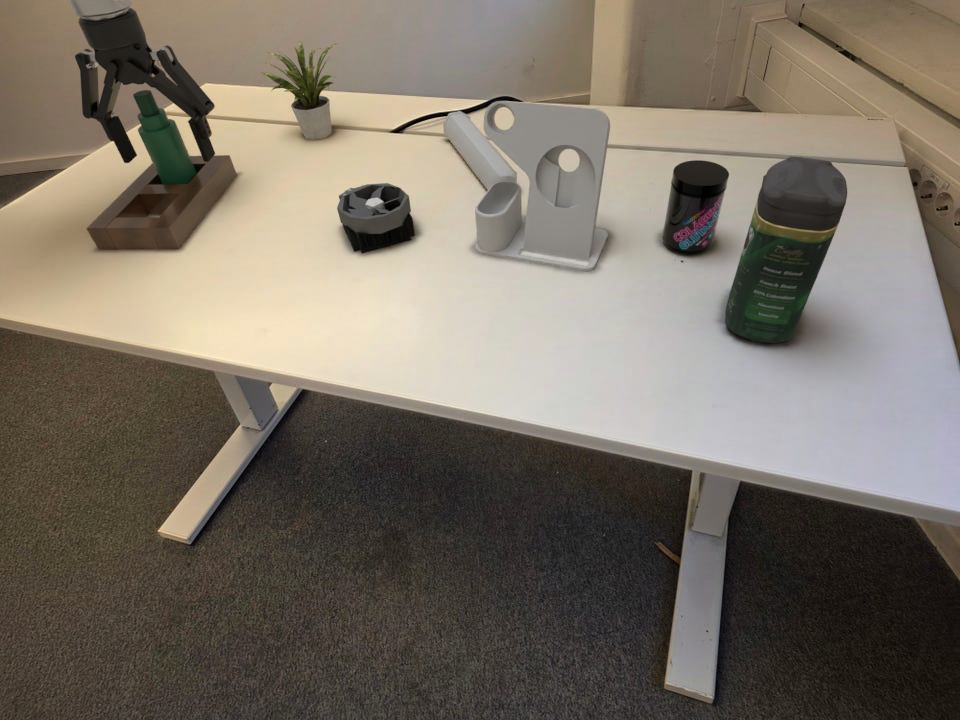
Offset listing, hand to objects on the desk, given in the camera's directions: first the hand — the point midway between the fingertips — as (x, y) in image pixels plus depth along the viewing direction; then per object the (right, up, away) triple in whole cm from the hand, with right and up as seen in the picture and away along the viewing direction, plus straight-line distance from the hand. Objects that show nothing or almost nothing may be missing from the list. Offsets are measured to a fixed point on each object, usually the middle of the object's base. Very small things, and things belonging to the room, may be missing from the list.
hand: (170, 158), depth 98 cm
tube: (+50, 0, +5) cm, 51 cm away
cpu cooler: (+35, -14, -8) cm, 39 cm away
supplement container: (+79, -17, -15) cm, 82 cm away
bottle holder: (0, -8, +1) cm, 8 cm away
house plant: (+19, +12, +20) cm, 30 cm away
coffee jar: (+83, -28, -27) cm, 92 cm away
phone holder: (+59, -16, -12) cm, 62 cm away
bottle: (+1, -5, +5) cm, 7 cm away
